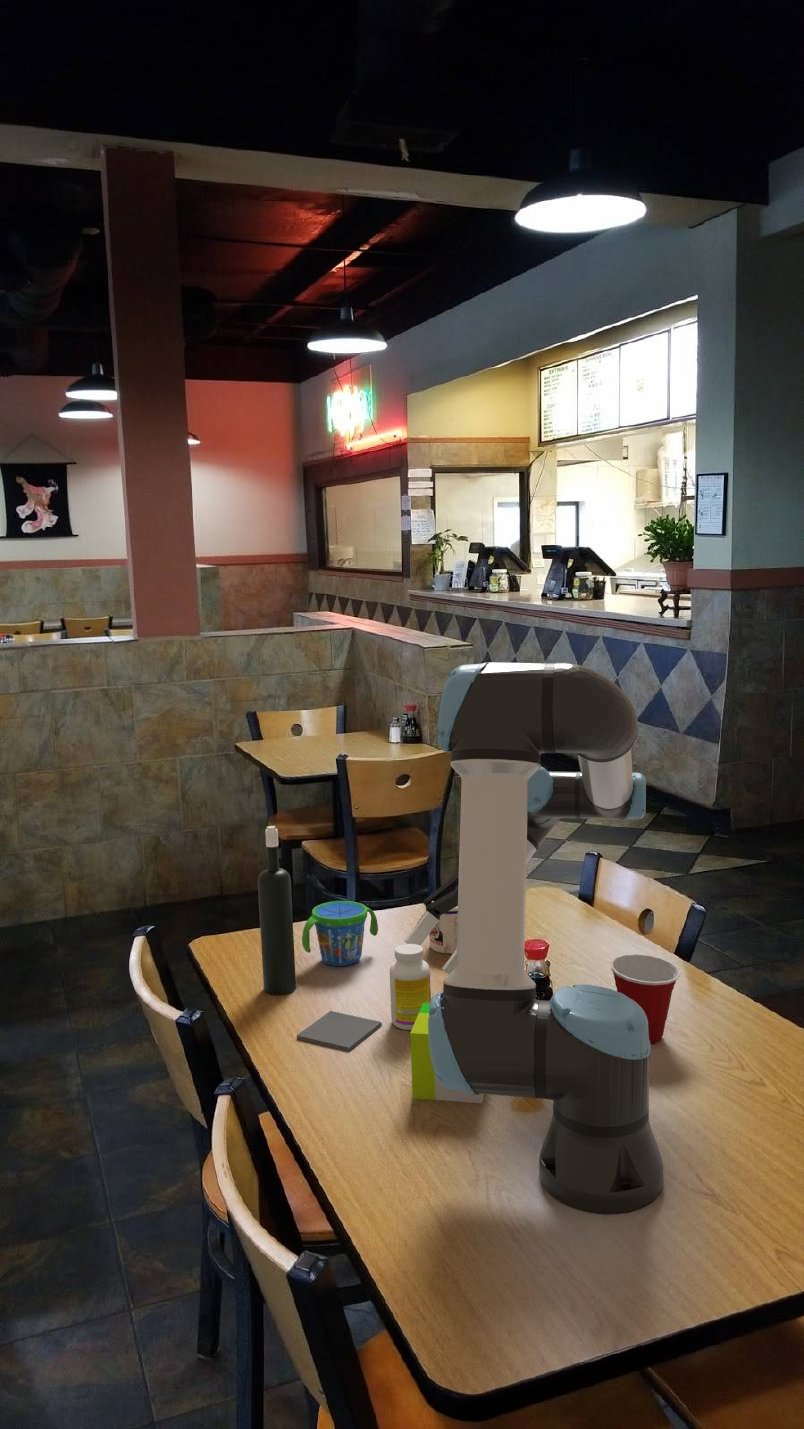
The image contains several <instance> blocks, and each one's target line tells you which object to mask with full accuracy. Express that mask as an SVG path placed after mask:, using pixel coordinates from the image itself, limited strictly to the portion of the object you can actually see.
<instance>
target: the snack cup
mask: <svg viewBox="0 0 804 1429" xmlns="http://www.w3.org/2000/svg"><path fill="white" fill-rule="evenodd" d="M368 913H369V915H370V925H369V933H370V934H371V935H372V936H373V937H376V936H377V935H378V932H379V924H378V920H377V915H376V913H375V912H374V910H372V909H371V908H369V907H368V906H366V905H365V904H363V903H360V902H356V901H351V900H335V901H328V902H327V901H326V902H324V903H320V904H318V905H316V906H314V908H313V909H312V911H311V916H310V917H309V918H308V919H307V920H306V922H305V924H304V927H303V929H302V930H303V931H302V937H301V943H302V947H303V950H304V951H305V952H307V953H309V954H310V953H311V951H312V950H311V947H310V944H311V942H310V930H311V929H312V927H313V926H314V925H315V931H316V936H317V941H318V948H319V950H320V956H321V959H322V962H323V964H325V965H329V966H335V967H345V966H350V965H352V964H354V963H359V962H360V959H361V958H362V954H363V952H362V951H363V943H364V936H365V923H366V920H367V917H368Z"/></svg>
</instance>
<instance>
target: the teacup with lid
mask: <svg viewBox="0 0 804 1429" xmlns="http://www.w3.org/2000/svg"><path fill="white" fill-rule="evenodd" d="M432 902H433V901H432ZM457 919H458V906H457V907H455V908H453V909H451V910H450V911H448V912H446V913H444V914H442V915H441V916H440V920H439V921H438V923H437V924H436V925H435V927H434V928H433V930H432V931H431V932H430V934H429V935H428V936H429V938H428V939H429V947H430V949H431V950H433V951H435V952H437V953H440V954H449V955H452V954H453V953H454V952H455V950H456V949H457Z"/></svg>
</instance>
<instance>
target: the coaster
mask: <svg viewBox="0 0 804 1429" xmlns="http://www.w3.org/2000/svg"><path fill="white" fill-rule="evenodd" d="M382 1025H383V1024H382V1021H380V1020H379V1021H378V1020H374V1019H370V1018H366V1017H365V1018H364V1017H361V1016H356V1015H351V1014H347V1013H342V1012H337V1011H332V1010H329V1011H328V1012H327V1013H326V1014H324V1015H323V1016H321V1017H320V1018H318V1019H317V1020H316V1021H314V1022H313V1023H312V1024H310V1025H309V1026H308V1027H306V1028H305V1029H303V1030H301V1032H299V1033H298V1034H296V1040H301V1041H305V1042H310V1043H312V1044H318V1045H322V1046H326V1047H329V1048H330V1047H331V1048H334V1049H338V1050H339V1049H340V1050H343V1051H347V1052H350V1051H352V1050H353V1049H354V1048H356V1046H358V1045H359V1044H360V1043H362V1042H363V1041H364V1040H365V1039H366V1038H368V1037H369V1036H370V1035H372V1034H373V1033H374V1032H375V1031H376V1029H377V1030H378V1029H379V1028H380V1027H382Z"/></svg>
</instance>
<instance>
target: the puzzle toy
mask: <svg viewBox="0 0 804 1429" xmlns="http://www.w3.org/2000/svg"><path fill="white" fill-rule="evenodd" d="M429 1005H430V1004H429V1003H423V1005H422V1007H421V1009H420V1012H419V1014H418V1016H417V1019H416V1021H415V1023H414V1026H413V1028H412V1030H410V1035H409V1036H410V1038H409V1039H410V1040H409V1041H410V1061H411V1063H410V1065H411V1068H410V1069H411V1090H412V1099H419V1100H421V1099H422V1100H433V1101H446V1102H447V1101H448V1102H457V1103H458V1102H461V1103H472V1104H483V1101H484V1098H485V1094H479V1095H473V1094H471V1093H468V1092H461V1091H454V1090H449V1089H447V1088H445V1087H444V1086H442V1084H441V1083H440V1082H439V1081H438V1079H437V1077H436V1075H435V1072H434V1069H433V1065H432V1061H431V1055H430V1048H429V1036H428V1018H429Z"/></svg>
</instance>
